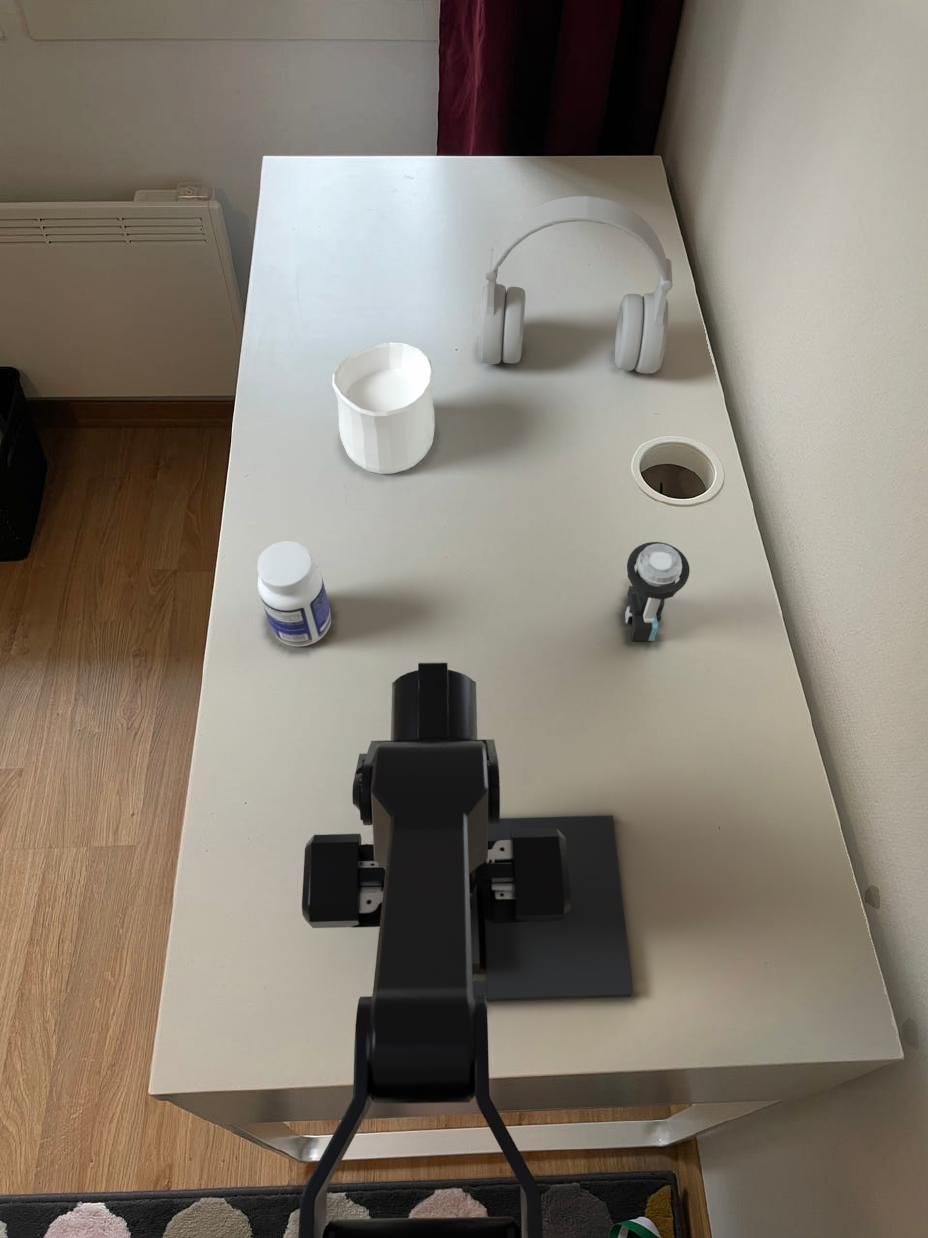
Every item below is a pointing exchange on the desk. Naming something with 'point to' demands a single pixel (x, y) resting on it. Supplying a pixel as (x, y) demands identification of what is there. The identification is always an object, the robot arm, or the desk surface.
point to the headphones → (637, 316)
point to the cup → (385, 406)
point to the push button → (652, 585)
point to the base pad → (565, 925)
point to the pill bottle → (293, 594)
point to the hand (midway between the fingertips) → (438, 907)
